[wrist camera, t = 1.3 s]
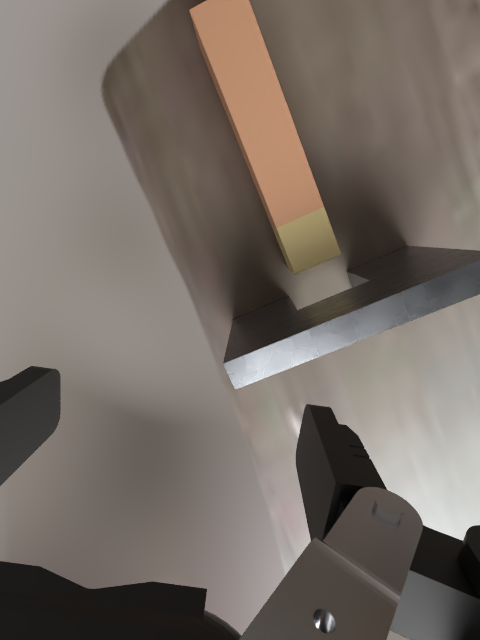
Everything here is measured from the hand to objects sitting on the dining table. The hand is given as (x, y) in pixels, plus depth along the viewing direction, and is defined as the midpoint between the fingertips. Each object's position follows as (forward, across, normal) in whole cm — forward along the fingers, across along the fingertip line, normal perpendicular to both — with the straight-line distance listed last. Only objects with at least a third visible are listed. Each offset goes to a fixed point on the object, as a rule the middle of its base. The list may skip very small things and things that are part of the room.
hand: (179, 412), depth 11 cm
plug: (+23, -2, -13) cm, 26 cm away
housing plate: (+23, -9, -1) cm, 25 cm away
